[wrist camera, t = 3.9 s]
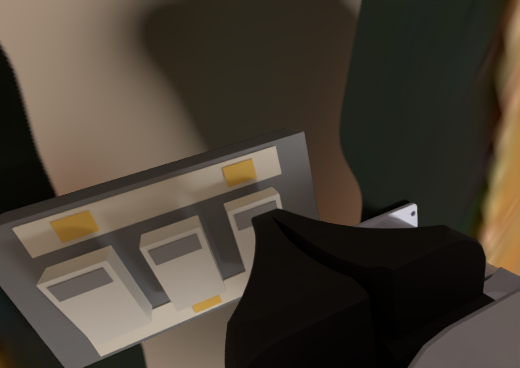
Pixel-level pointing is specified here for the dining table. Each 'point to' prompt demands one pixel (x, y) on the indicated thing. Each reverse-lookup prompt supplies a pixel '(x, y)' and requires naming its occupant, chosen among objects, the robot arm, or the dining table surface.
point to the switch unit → (143, 221)
